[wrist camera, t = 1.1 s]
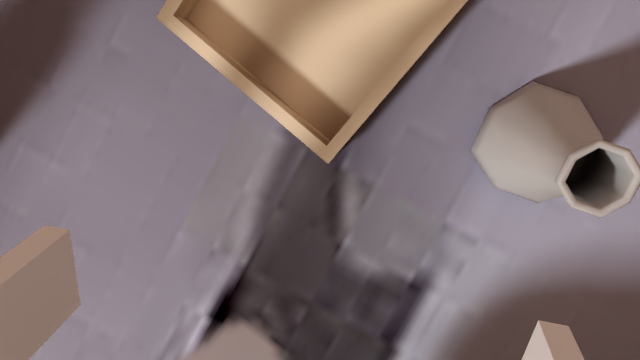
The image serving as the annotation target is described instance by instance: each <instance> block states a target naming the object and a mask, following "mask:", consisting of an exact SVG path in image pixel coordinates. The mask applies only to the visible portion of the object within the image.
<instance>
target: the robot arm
mask: <svg viewBox="0 0 640 360" xmlns="http://www.w3.org/2000/svg"><path fill="white" fill-rule="evenodd" d="M80 305H81V304H80V298H79V291H78V284H77V277H76V271H75V264H74V257H73V250H72V244H71V237H70V230H67V229H61V228H56V227H51V226H46V225H45V226H43V227H42V228H40V229H39V230H38V231H36V232H35V233H33V234H32V235H31V236H29V237H28V238H27V239H25V240H24V241H22V242H21V243H20V244H18V245H17V246H16V247H14V248H13V249H11V250H10V251H9V252H7V253H6V254H5V255H3V256H2V257H0V360H28V359H29V358H30V357H31V356H32V355H33V354H34V353H35V352H36V351H37V350H38V349H39V348H40V347H41V346H42V345H43V344H44V342H45V341H46V340H47V339H48V338H49V337H50V336H51V335H52V334H53V333H54V332H55V331H56V330H57V329H58V328H59V327H60V326H61V325H62V323H63V322H64V321H65V320H66V319H67V318H68V317H69V316H70V315H71V314H72V313H73V312H74V311H75V310H76V309H77V308H78V307H79V306H80ZM522 360H584V358H583V355H582V353H581V351H580V349H579V347H578V345H577V343H576V341H575V338H574V336H573V334H572V332H571V330H570V328H569V326H566V325H561V324H556V323H550V322H545V321H540V320H538V322H537V324H536V327H535V329H534V332H533V334H532V336H531V339H530V341H529V343H528V346H527V348H526V351H525V353H524V355H523V358H522Z"/></svg>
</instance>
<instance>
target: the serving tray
mask: <svg viewBox="0 0 640 360" xmlns="http://www.w3.org/2000/svg"><path fill="white" fill-rule="evenodd" d="M467 1H468V0H167V1H166V3H165V5H164V6H163V8H162V9H161V11H160V12H159V14H158V16H157V17H156V18H157V19H158V20H160V21H161V22H162V23H163V24H164V25H165V26H167V27H168V28H169V29H170V30H171V31H173V32H174V33H175V34H176V35H177V36H178V37H180V38H181V39H182V40H183V41H184V42H185V43H187V44H188V45H189V46H190V47H191V48H193V49H194V50H195V51H196V52H197V53H198V54H200V55H201V56H202V57H203V58H204V59H205V60H207V61H208V62H209V63H210V64H211V65H213V66H214V67H215V68H216V69H217V70H218V71H220V72H221V73H222V74H223V75H224V76H225V77H227V78H228V79H229V80H230V81H231V82H233V83H234V84H235V85H236V86H237V87H238V88H240V89H241V90H242V91H243V92H244V93H245V94H247V95H248V96H249V97H250V98H251V99H253V100H254V101H255V102H256V103H257V104H258V105H260V106H261V107H262V108H263V109H264V110H265V111H267V112H268V113H269V114H270V115H271V116H273V117H274V118H275V119H276V120H277V121H278V122H280V123H281V124H282V125H283V126H284V127H285V128H287V129H288V130H289V131H290V132H291V133H293V134H294V135H295V136H296V137H297V138H298V139H300V140H301V141H302V142H303V143H304V144H305V145H307V146H308V147H309V148H310V149H311V150H313V151H314V152H315V153H316V154H317V155H318V156H320V157H321V158H322V159H323V160H324V161H325V162H327V163H329V162H330V161H331V160H332V159H333V158H334V156H335V155H336V154H337V153H338V152H339V151H340V149H341V148H342V147H343V146H344V145H345V144H346V142H347V141H348V140H349V139H350V138H351V137H352V135H353V134H354V133H355V132H356V131H357V129H358V128H359V127H360V126H361V125H362V124H363V122H364V121H365V120H366V119H367V118H368V117H369V115H370V114H371V113H372V112H373V111H374V110H375V108H376V107H377V106H378V105H379V104H380V103H381V101H382V100H383V99H384V98H385V97H386V96H387V94H388V93H389V92H390V91H391V90H392V89H393V87H394V86H395V85H396V84H397V83H398V81H399V80H400V79H401V78H402V77H403V76H404V74H405V73H406V72H407V71H408V70H409V69H410V67H411V66H412V65H413V64H414V63H415V62H416V60H417V59H418V58H419V57H420V56H421V55H422V53H423V52H424V51H425V50H426V49H427V48H428V46H429V45H430V44H431V43H432V42H433V41H434V39H435V38H436V37H437V36H438V35H439V34H440V32H441V31H442V30H443V29H444V28H445V26H446V25H447V24H448V23H449V22H450V21H451V19H452V18H453V17H454V16H455V15H456V14H457V12H458V11H459V10H460V9H461V8H462V7H463V5H464V4H465V3H466V2H467Z"/></svg>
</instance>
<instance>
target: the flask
mask: <svg viewBox="0 0 640 360" xmlns="http://www.w3.org/2000/svg"><path fill="white" fill-rule="evenodd" d="M471 152H472V153H473V155H474V156H475V158H476V159H477V161H478V162H479V164H480V166H481V167H482V169H483V170H484V172H485V173H486V175H487V177H488V178H489V180H490V181H491V183H492V184H493V186H494V187H495V188H498V189H501V190H503V191H506V192H509V193H512V194H515V195H517V196H520V197H523V198H526V199H529V200H531V201H534V202H537V203H539V202H543V201H546V200H549V199H552V198H556V197H562V196H564V197H565V199H566V201H567V202H568V204H569V205H570V206H571V207H572V208H575V209H578V210H581V211H584V212H586V213H589V214H592V215H595V216H598V217H600V218H601V217H603V216H605V215H607V214H609V213H611V212H613V211H615V210H617V209H619V208H621V207H623V206H625V205H627V204H629V203H630V202H631V200H632V198H633V197H634V195H635V193H636V191H637V189H638V188H639V186H640V165H639V164H638V162H637V160H636V159H635V157H634V155H633V154H632V152H631V150H629V149H627V148H624V147H621V146H618V145H615V144H612V143H610V142H607V141H604V140H603V136H602V135H601V133H600V131H599V130H598V128H597V126H596V125H595V123H594V121H593V120H592V118H591V116H590V115H589V113H588V111H587V110H586V108H585V106H584V105H583V103H582V101H581V100H580V98H579V97H578V96H575V95H572V94H569V93H566V92H563V91H560V90H557V89H554V88H551V87H548V86H545V85H542V84H539V83H536V82H533V81H532V82H530V83H529V84H527V85H525V86H524V87H522V88H521V89H519V90H517V91H516V92H514V93H512V94H511V95H509V96H508V97H506V98H504V99H503V100H501V101H500V102H498V103H496V104H495V105H493V106H492V107H490V108H489V110H488V112H487V114H486V117H485V119H484V121H483V124H482V126H481V128H480V131H479V133H478V135H477V138H476V140H475V142H474V144H473V147H472V149H471Z"/></svg>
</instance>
